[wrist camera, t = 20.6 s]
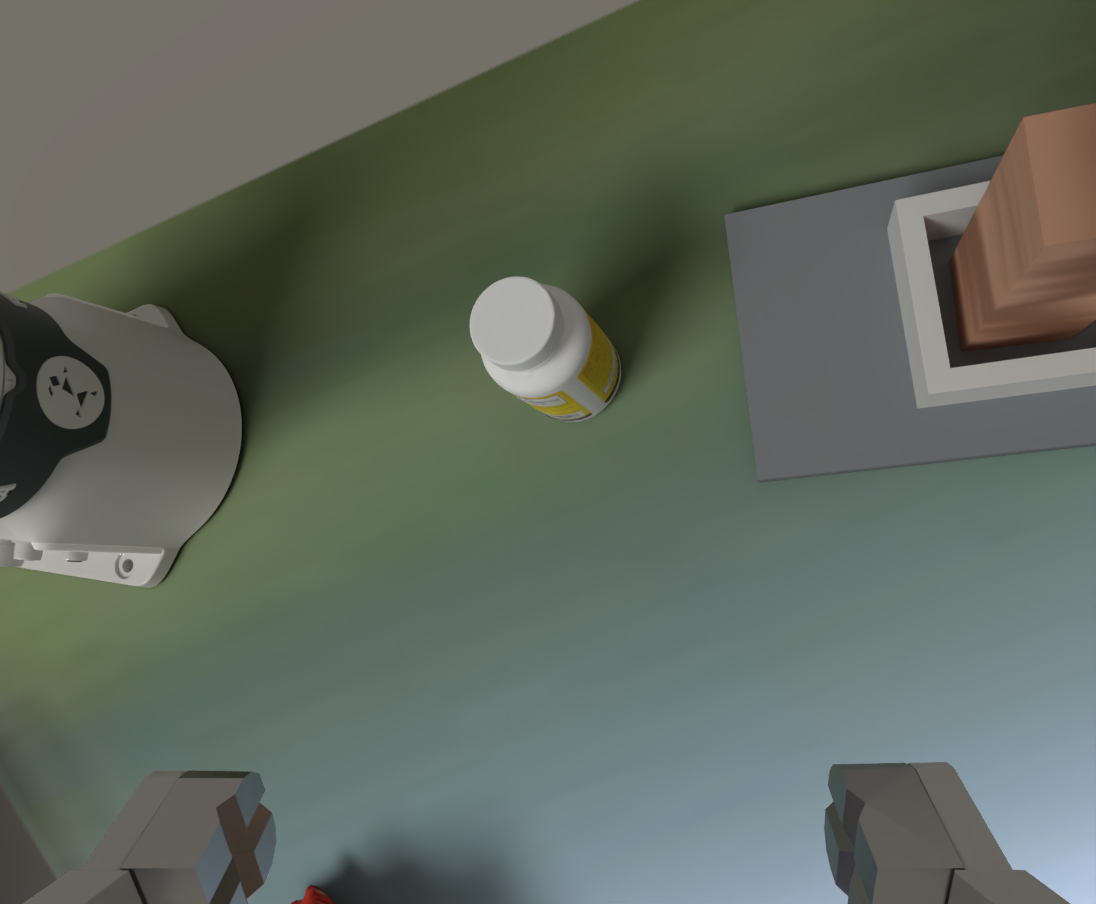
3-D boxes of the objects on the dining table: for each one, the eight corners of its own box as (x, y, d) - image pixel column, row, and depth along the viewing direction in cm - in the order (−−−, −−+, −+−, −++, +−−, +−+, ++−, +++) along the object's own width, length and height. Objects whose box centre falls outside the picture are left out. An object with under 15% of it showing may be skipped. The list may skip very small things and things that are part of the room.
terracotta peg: (961, 351, 34) (1044, 246, 23) (948, 262, 35) (1023, 117, 24) (1071, 339, 33) (1216, 220, 22) (1056, 246, 34) (1188, 84, 23)
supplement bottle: (587, 309, 42) (529, 234, 32) (642, 384, 40) (597, 328, 31) (511, 367, 42) (433, 311, 33) (561, 443, 41) (494, 406, 32)
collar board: (758, 482, 37) (754, 472, 34) (725, 223, 40) (719, 187, 36) (1365, 415, 30) (1447, 393, 27) (1279, 106, 33) (1342, 47, 29)
